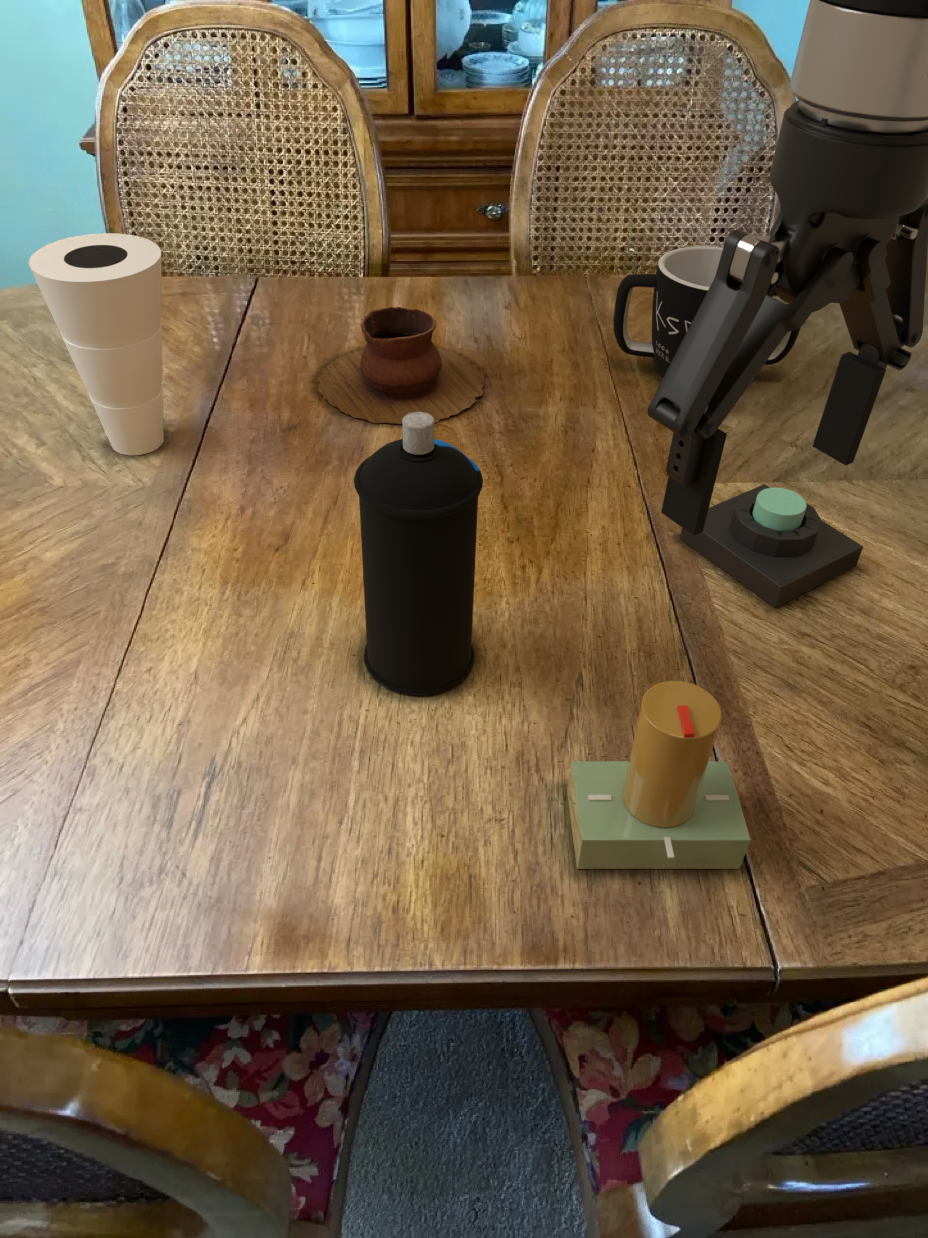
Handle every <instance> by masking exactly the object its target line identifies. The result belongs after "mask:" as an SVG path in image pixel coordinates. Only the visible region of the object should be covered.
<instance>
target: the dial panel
mask: <svg viewBox="0 0 928 1238" xmlns="http://www.w3.org/2000/svg"><path fill="white" fill-rule="evenodd" d="M628 763H629V760H572V761H571V763H570V768H569V769H570V770H569V776H568V783H567V788H566V794H567V800H568V801H567V802H568V810H569V816H570V825H571V833H572V841H573V849H574V857H575V865H576V869H577V870H740V869H741V867H742V864H743V861H744V859H745V857H746V853H747V851H748V848H749V846H750V843H751V840H752V839H751V836H750V833H749V829H748V826H747V822H746V819H745V816H744V812H743V809H742V805H741V802H740V798H739V794H738V791H737V788H736V785H735V780H734V778H733V774H732V771H731V766H730V764H729V761H709V762H708V766H707V769H706V772H705V776H704V779H703V782H702V785H701V789H700V792H699V795H698V799H697V802H696V805H695V809H694V811H693V813H692V815H691V816H690V818H689V819H688V820H686V821H685V822H684V823H682V824H680V825H677V826H674V827H666V828H663V827H655V826H651V825H648V824H646V823H644V822H642V821H640V820H638V819H637V818H636V817H634V816H633V815H632V814H631V813H630V811H629V810H628V809H627V807H626V805H625V803H624V801H623V796H622V791H623V786H624V781H625V776H626V772H627V767H628Z"/></svg>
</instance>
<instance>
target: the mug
mask: <svg viewBox="0 0 928 1238" xmlns="http://www.w3.org/2000/svg"><path fill="white" fill-rule="evenodd" d="M723 247H724V246H723ZM723 247H721V246H713V245H712V246H708V245H697V246H696V245H695V246H684V247H680V248H676V249H673V250H670V251H668V252H666V253H664V254H663V255H661V256H660V258H659V259H658V261H657V265H656V271H655V273H635V274H634V273H633V274H627V275H626V276H624V278H623V279H622V280H621V281H620V283H619V285H618V287H617V290H616V297H615V301H614V309H613V319H612V321H613V323H612V324H613V325H612V327H613V333H614V337H615V341H616V343H617V345H618V347H619V348H620V350H621V351H623V352H624V353H625V354H628V355H631V356H635V357H642V358H653V364H654V368H655V370H656V373H657V374H658V375H659V376H660V377H661V378H663V377H664V375H665V373H666V372H667V370H668V368H669V366H670V364H671V362H672V360H673V358H674V356H675V354H676V352H677V350H678V348H679V346H680V344H681V342H682V340H683V338H684V337H685V335H686V333H687V331H688V329H689V327H690V325H691V323H692V321H693V319H694V317H695V315H696V313H697V311H698V309H699V307H700V305H701V303H702V301H703V300H704V298H705V296H706V294H707V292H708V290H709V288H710V286H711V284H712V282H713V280H714V278H715V275H716V271H717V268H718V264H719V261H720V257H721V254H722V250H723ZM634 288H647V289H653V296H652V307H651V308H652V309H651V342H644V341H636V340H632V339H631V338H630V336H629V333H628V314H629V308H630V302H631V297H632V293H633V290H634ZM767 295H768V296H770V297H772V298H774V297H778V298H779V296H778V295H777V293H776V290H775V287H774V285H773V286H772V288H771V289H770V290H769V292H768V293H767ZM800 330H801V328H799V329H797V330H793V331H789V332H788V333H787V334H786V335H785V336H784V338H783V339H782V340H781V342H780V343H779V345H778V346H777V347H776V349H775V350H774V352H773V353H772V354H771V356H770V357H769V358H768V360H767V361H766V363H765V364H764V365H763V366H772V365H775V364H778V363H779V362H781V361H782V360H783V359H785V358H786V357H787V355H788V354H789V353H790V352H791V350H792V349H793V348H794V345H795V344H796V342H797V339H798V338H799V333H800Z"/></svg>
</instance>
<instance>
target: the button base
mask: <svg viewBox="0 0 928 1238" xmlns="http://www.w3.org/2000/svg"><path fill="white" fill-rule="evenodd" d="M767 488H771V487H770V486H768V485H767V484H765V483H763V484H761V485H759V486H756V487H755V488H752V489H749V490H747V491H745V492H742V493H740V494H738V495H736V496H733V497H731V498H728V499H726V500H724V501H721V502H719V503H717V504H714V505H712V506H709V509H708V513H707V517H706V521H705V525H704V530H703V532H701V533H699V534H697V535H694V536H693V535H692V534H691V533H689V532H688V531H686V530H685V529H684V528H682V527H681V530H680V534H679V535H680V536H679V539H680V540H681V541H683V542H684V543H686V544H687V545H688V546H690V547H691V549H694V551H696V552H698V553H699V554H700V555H702V556H703V557H704V558H706V559H707V560H708V561H710V562H712V564H714V565H716V566H717V567H718V568H720V569H721V570H722V571H724V572H725V573H727V574H728V575H729V576H731V577H732V578H733V579H735V580H736V581H738V582H739V583H740V584H742V585H743V586H744V587H746V588H747V589H749V590H750V591H751V592H752V593H754V594H755V595H756V596H758V597H760V599H762V600H763V601H764V602H766V603H768V604H769V605H770V606H772V607H773V608H774V609H776V608H778V607H780V606H782V605H784V604H786V603H787V602H789V601H791V600H794V599H795V598H798V597H799V596H802V595H803V594H805V593H808V592H809V591H812V590H813V589H815V588H817V587H819V586H821V585H823V584H825V583H828V582H829V581H831V580H833V579H836V578H837V577H839V576H841V575H843V574H844V573H847V572H849V571H850V570H853V569H855V568H856V567H857V565H858V563H859V560H860V557H861V554H862V552H863V549H864V546H863V545H862V544H861V543H859V542H857V541H855V540H853V539H852V538H851V537H849V536H848V535H846V534H844V533H843V532H842V531H839V529H836V528H835V527H834V526H832V525H830V524H828V523H827V522H826V521H824V520H822V519H821V517H820V515H819V514H818V512H817V510H816V508H815V507H814V506H812V504H810V503H808V502H806V504H807V507H806V511H805V514H804V517H803V520H802V523H801V525H800V527H799V528H798V529H796V530H794V531H778V530H774V529H770V528H767V527H764V526H762V525H761V524H759V523H758V522H756V521H755V520H754V518H753V515H752V514H753V509H754V506H755V502H756V498H757V495H758V493H759V492H760V491H762V490H764V489H767Z"/></svg>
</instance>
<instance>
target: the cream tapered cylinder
mask: <svg viewBox="0 0 928 1238" xmlns="http://www.w3.org/2000/svg"><path fill="white" fill-rule="evenodd" d="M28 267H29V268H30V270H31V273H32V275H33V277H34V279H35V282H36V284H37V285H38V289H39V291H40V293H41V295H42V297H43V299H44V301H45V303H46V305H47V308H48V310H49V312H50V314H51V316H52V318H53V321H54V324H55V325H56V328H57V329H58V330H59V331H60V335H61V338H62V340H63V342H64V344H65V346H66V349H67V351H68V353H69V355H70V358H71V359H72V362H73V364H74V366H75V369H76V371H77V373H78V374H79V377H80V379H81V381H82V383H83V386H84V388H85V390H86V392H87V393H88V395H89V399H90V401H91V404H92V406H93V408H94V410H95V412H96V414H97V417H98V419H99V421H100V423H101V425H102V428H103V430H104V432H105V434H106V437H107V439H108V441H109V444H110V445H111V448H112V449H113V450H114V451H115V452H116V453H118V454H121V455H123V456H124V455H125V456H142V455H145V454H148V453H151V452H154V451H156V450H158V449H159V448H160V447H161V446H163V442H164V387H163V385H162V383H163V322H162V317H163V287H162V285H163V283H162V282H163V281H162V279H163V278H162V277H163V276H162V250H161V247H160V246H159V245H158V244H157V243H155V242H154V241H152V240H150V239H147V238H146V237H141V236H139V235H134V234H128V233H127V234H126V233H117V232H116V233H114V232H113V233H111V232H108V233H106V232H105V233H104V232H103V233H101V232H100V233H88V234H83V235H82V234H81V235H75V236H69V237H66V238H62V239H59V240H55V241H52V242H50V243H47V244H45V245H44V246H42V247H40V248H38V249H37V250H35V251H34V252H33V253H32V254H31V255H30V257H29V259H28Z"/></svg>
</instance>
